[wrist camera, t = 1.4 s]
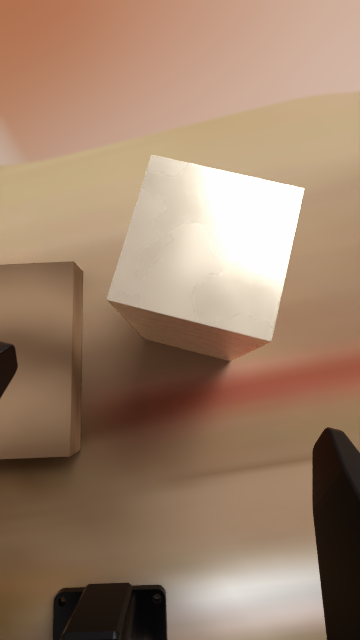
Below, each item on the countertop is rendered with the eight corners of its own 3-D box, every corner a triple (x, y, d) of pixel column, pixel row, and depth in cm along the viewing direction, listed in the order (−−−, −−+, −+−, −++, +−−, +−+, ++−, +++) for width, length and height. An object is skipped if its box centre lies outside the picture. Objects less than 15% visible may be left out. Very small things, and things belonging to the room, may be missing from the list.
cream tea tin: (230, 361, 22) (271, 341, 12) (144, 338, 23) (106, 299, 12) (249, 277, 23) (304, 188, 13) (167, 257, 24) (151, 154, 13)
